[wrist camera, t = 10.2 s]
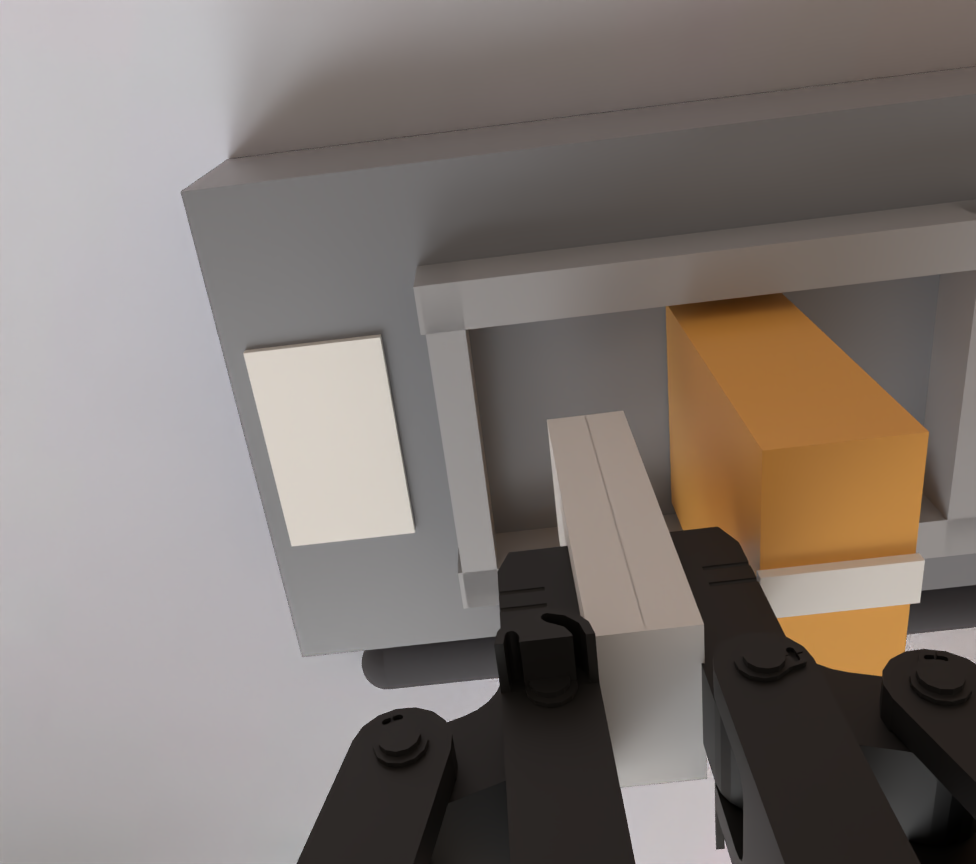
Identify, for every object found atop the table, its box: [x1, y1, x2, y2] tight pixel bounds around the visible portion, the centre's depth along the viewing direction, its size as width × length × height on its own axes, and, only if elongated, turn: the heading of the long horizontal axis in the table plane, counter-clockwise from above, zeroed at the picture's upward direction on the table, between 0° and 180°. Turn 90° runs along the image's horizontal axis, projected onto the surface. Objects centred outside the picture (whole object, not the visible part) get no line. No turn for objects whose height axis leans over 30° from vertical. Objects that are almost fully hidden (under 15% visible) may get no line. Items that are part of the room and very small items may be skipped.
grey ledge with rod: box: [362, 585, 976, 689], centre depth 27 cm, size 25×3×2 cm, turn 97°
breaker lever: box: [666, 293, 929, 676], centre depth 17 cm, size 2×5×7 cm, turn 7°
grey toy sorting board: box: [181, 66, 976, 657], centre depth 22 cm, size 26×12×6 cm, turn 97°
